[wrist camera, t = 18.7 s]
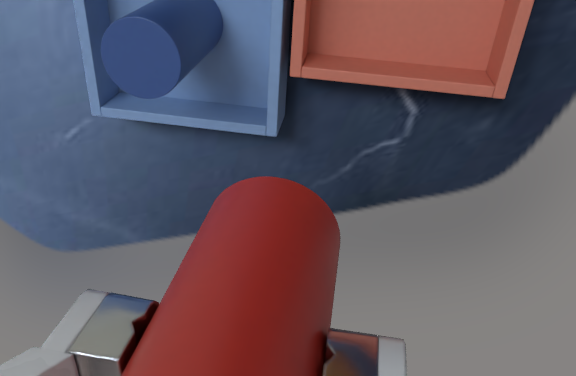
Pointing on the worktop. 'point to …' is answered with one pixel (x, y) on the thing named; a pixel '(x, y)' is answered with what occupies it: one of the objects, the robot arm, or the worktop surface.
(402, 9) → the red bin
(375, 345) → the robot arm
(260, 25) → the blue bin
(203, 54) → the blue peg
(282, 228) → the red peg
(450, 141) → the worktop surface
